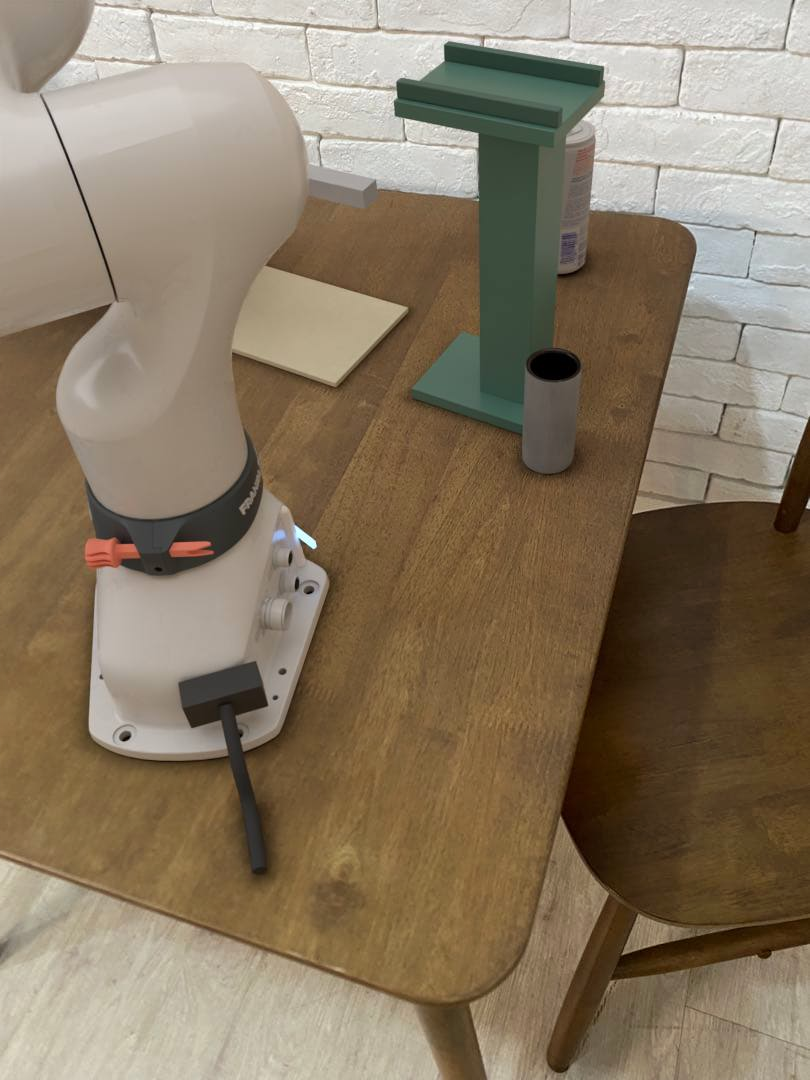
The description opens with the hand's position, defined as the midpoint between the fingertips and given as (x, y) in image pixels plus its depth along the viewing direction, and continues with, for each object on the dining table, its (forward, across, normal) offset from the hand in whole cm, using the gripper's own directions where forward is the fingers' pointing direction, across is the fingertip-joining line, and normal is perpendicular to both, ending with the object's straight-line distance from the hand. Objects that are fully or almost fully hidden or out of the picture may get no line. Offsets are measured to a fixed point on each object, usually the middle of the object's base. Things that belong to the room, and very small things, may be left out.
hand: (216, 153), depth 88 cm
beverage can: (+13, +22, +29) cm, 39 cm away
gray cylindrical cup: (+24, -6, +35) cm, 42 cm away
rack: (+16, 0, +30) cm, 34 cm away
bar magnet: (+5, 0, +5) cm, 7 cm away
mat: (-6, 0, +17) cm, 18 cm away
